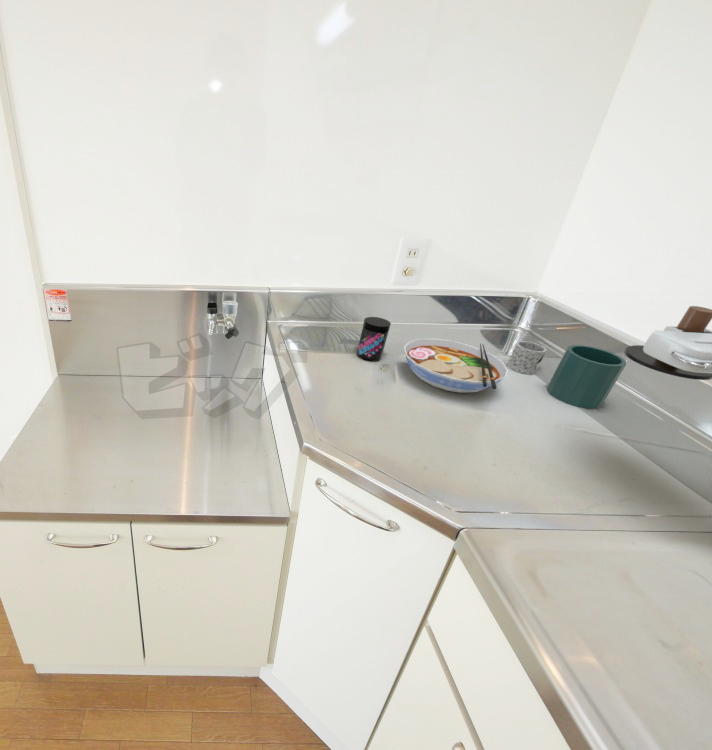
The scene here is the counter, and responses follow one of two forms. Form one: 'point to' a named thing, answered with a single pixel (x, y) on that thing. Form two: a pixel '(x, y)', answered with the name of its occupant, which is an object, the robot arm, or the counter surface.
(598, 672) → the counter surface
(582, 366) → the teal faceted tumbler
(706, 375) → the lid
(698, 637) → the counter surface
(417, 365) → the ramen bowl
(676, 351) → the robot arm
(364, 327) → the supplement container
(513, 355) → the mug
